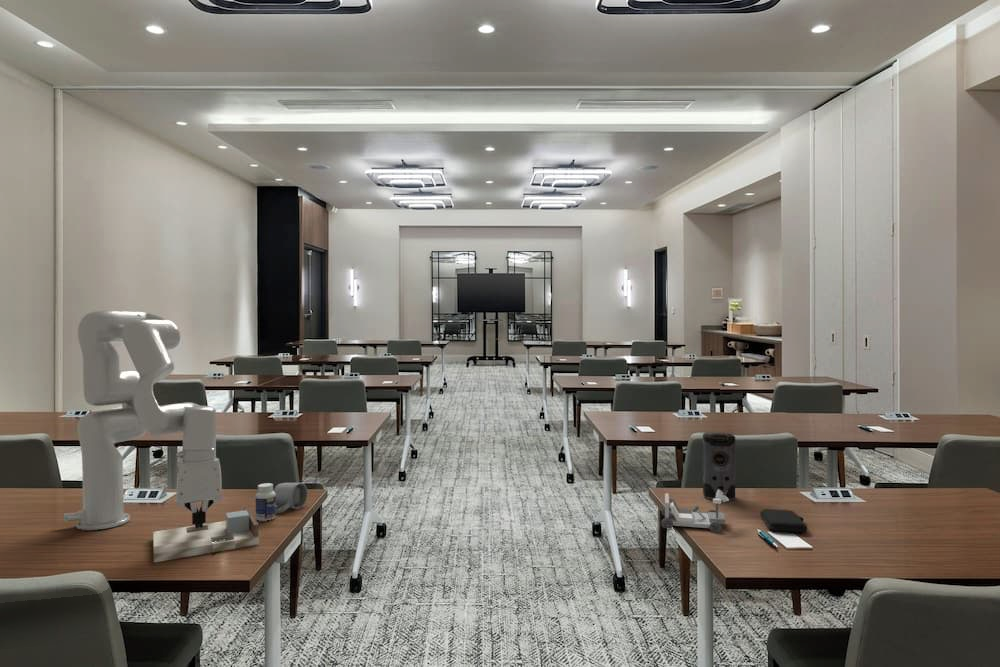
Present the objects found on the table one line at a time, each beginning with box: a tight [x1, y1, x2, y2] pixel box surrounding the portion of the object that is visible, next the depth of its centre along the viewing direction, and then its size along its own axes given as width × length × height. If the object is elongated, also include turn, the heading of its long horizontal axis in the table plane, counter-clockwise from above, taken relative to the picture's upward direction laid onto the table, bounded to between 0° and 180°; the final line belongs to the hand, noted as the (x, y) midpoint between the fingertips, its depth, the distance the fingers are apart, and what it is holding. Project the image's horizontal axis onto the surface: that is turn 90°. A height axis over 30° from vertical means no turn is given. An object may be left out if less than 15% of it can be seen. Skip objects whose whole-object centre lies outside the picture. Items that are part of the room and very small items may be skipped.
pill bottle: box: [255, 482, 277, 522], centre depth 174 cm, size 5×5×10 cm
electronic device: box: [702, 432, 736, 501], centre depth 193 cm, size 9×6×20 cm, turn 80°
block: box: [225, 509, 249, 534], centre depth 159 cm, size 5×5×4 cm
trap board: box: [152, 506, 260, 563], centre depth 155 cm, size 23×18×5 cm
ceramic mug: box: [273, 482, 308, 514], centre depth 184 cm, size 11×8×8 cm
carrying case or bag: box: [759, 508, 808, 535], centre depth 166 cm, size 11×3×15 cm
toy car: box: [660, 489, 730, 533], centre depth 168 cm, size 18×10×12 cm
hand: (198, 526), depth 155 cm, fingers closed
